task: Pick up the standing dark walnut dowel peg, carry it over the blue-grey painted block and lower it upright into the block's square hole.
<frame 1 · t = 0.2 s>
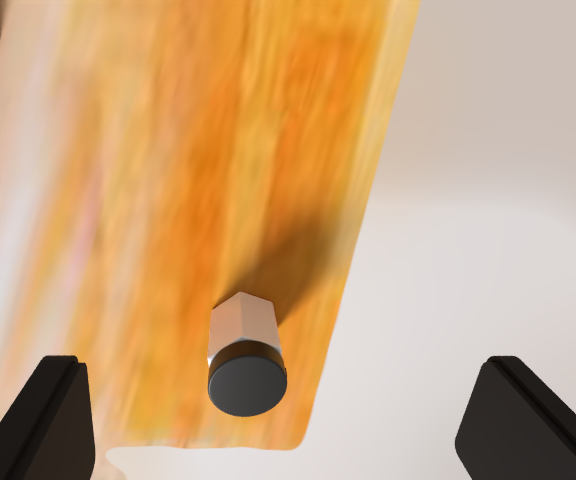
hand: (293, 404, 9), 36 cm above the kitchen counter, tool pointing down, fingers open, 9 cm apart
jar: (244, 319, 51), on the kitchen counter
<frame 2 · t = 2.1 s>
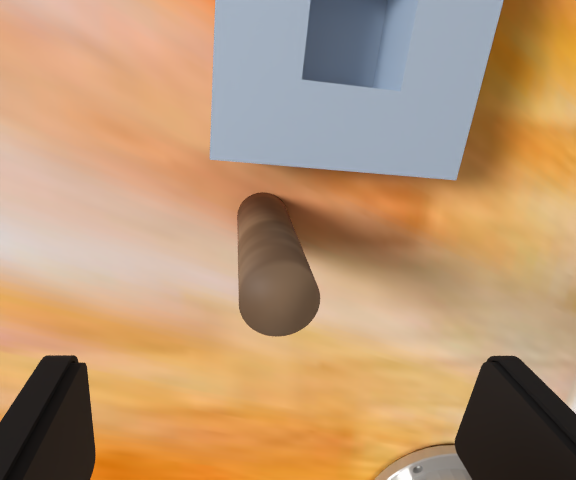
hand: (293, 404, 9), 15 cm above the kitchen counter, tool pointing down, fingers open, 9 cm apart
hole block: (335, 38, 21), on the kitchen counter
peg: (262, 216, 24), on the kitchen counter
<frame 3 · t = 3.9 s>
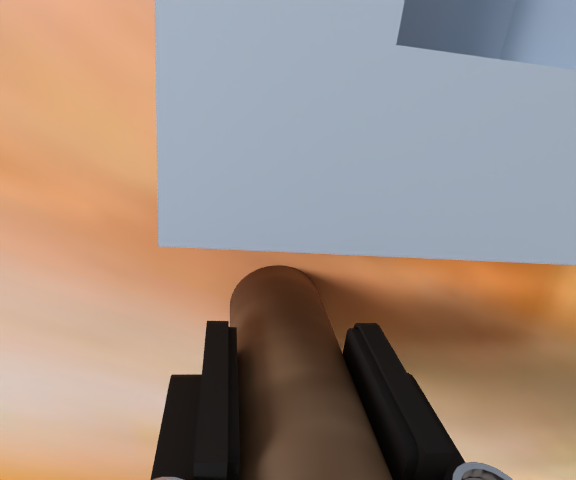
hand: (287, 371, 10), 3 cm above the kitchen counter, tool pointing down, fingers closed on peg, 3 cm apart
peg: (275, 305, 13), on the kitchen counter, touching gripper
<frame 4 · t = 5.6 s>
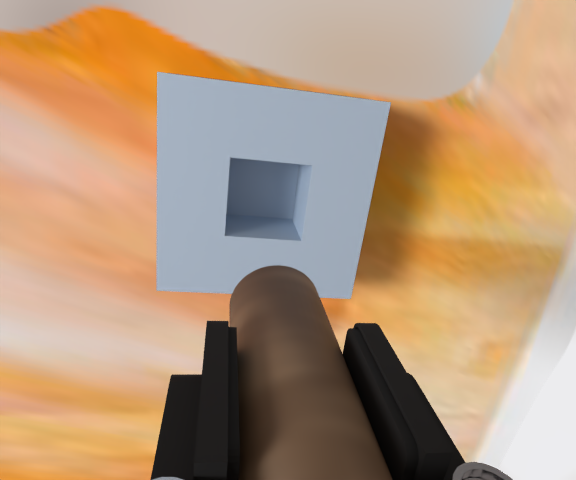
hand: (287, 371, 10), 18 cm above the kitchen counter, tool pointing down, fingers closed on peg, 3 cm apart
hole block: (262, 182, 26), on the kitchen counter
peg: (274, 305, 13), point 14 cm above the kitchen counter, touching gripper
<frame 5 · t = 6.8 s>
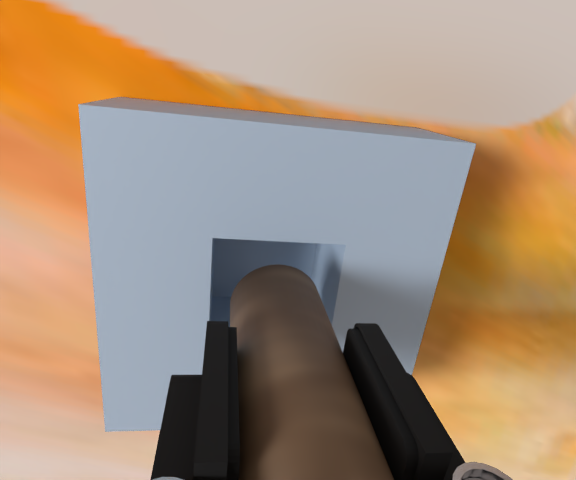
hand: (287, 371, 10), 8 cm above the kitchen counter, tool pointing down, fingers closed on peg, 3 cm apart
hole block: (264, 249, 18), on the kitchen counter
peg: (275, 304, 13), point 5 cm above the kitchen counter, touching gripper
when the fingers open (6 cm above the kitchen counter, at t = 7.5 s): peg drops 2 cm, resting on hole block.
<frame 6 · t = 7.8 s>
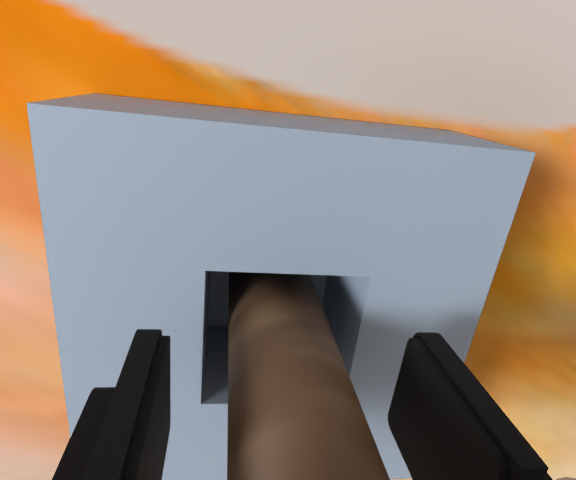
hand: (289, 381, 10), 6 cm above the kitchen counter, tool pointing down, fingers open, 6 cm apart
hole block: (268, 271, 16), on the kitchen counter
peg: (268, 277, 15), resting on hole block
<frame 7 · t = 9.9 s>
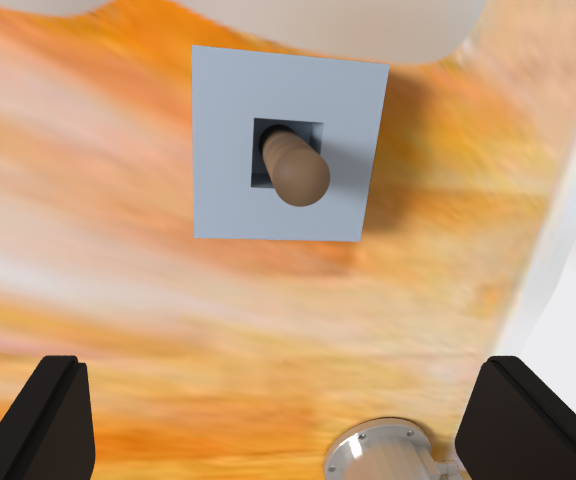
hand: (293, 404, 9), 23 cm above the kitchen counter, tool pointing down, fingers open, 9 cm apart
hole block: (278, 143, 30), on the kitchen counter
peg: (278, 144, 30), point 1 cm above the kitchen counter, touching hole block
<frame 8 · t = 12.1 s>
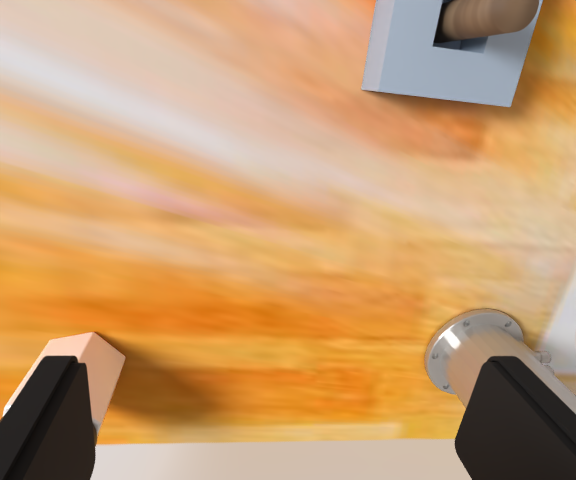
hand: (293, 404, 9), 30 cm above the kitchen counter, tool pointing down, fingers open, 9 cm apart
hole block: (438, 24, 35), on the kitchen counter
peg: (440, 24, 34), point 1 cm above the kitchen counter, touching hole block
jar: (85, 362, 43), on the kitchen counter
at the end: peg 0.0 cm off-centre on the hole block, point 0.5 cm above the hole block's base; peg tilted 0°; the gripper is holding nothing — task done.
